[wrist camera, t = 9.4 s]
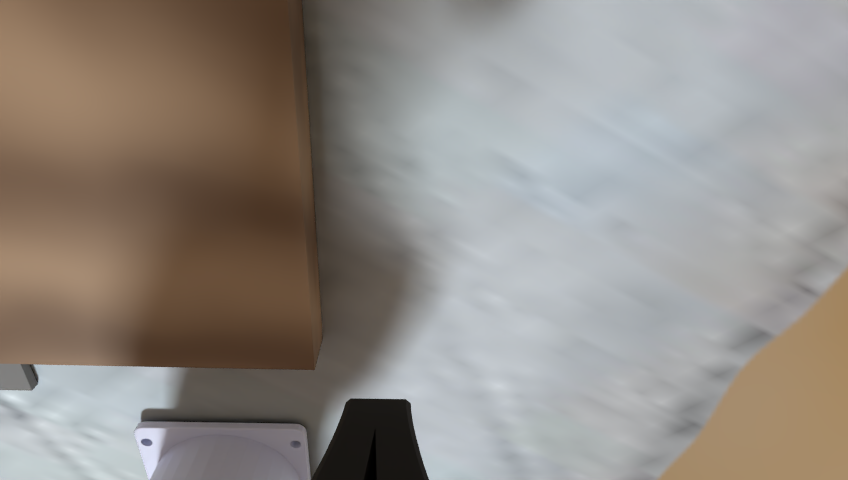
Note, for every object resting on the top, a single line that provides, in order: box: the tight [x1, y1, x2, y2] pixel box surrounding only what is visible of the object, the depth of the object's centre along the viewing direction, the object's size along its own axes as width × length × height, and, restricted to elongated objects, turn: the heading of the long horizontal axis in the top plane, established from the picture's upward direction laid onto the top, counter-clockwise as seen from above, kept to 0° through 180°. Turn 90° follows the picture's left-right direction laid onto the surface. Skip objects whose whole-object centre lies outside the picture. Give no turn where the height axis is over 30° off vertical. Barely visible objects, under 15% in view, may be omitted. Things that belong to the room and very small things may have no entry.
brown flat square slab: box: [0, 0, 323, 370], centre depth 17 cm, size 14×14×2 cm
